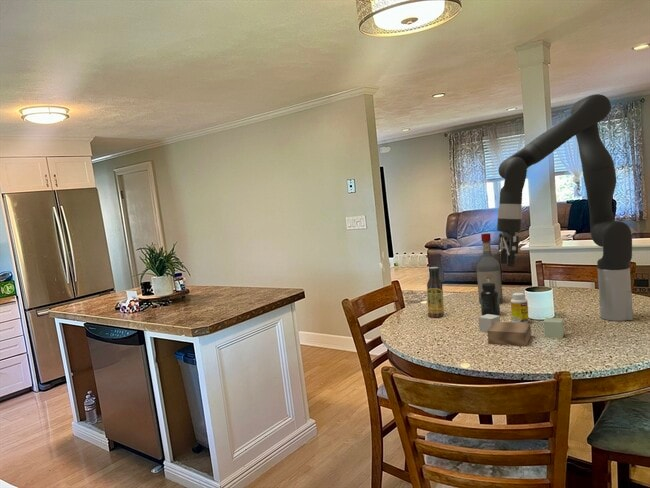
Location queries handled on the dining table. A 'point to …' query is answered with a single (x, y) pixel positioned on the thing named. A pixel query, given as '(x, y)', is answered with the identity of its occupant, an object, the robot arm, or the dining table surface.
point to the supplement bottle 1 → (489, 300)
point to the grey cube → (487, 321)
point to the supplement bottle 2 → (519, 308)
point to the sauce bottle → (435, 294)
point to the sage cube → (553, 327)
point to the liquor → (488, 268)
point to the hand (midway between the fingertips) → (506, 265)
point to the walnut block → (509, 333)
